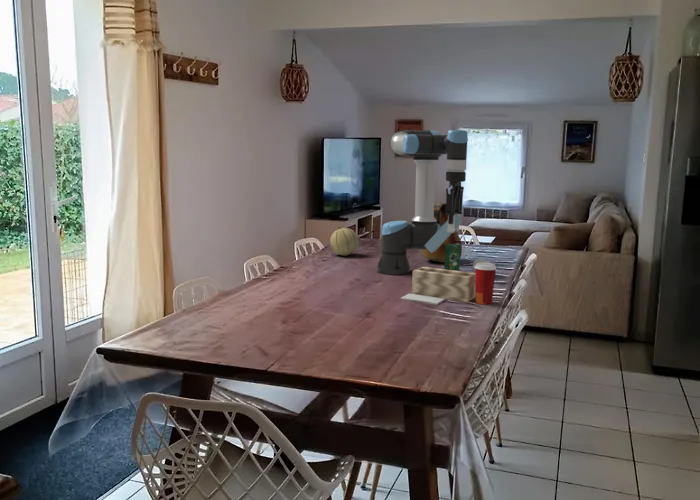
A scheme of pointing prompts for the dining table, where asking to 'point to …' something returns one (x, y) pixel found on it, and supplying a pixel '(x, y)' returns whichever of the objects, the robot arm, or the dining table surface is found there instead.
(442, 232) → the bar
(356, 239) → the cantaloupe
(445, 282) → the jig
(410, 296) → the mat
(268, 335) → the dining table surface
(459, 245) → the coffee box
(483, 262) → the ceramic mug
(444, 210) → the ceramic pitcher
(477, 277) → the coffee cup
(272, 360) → the dining table surface
